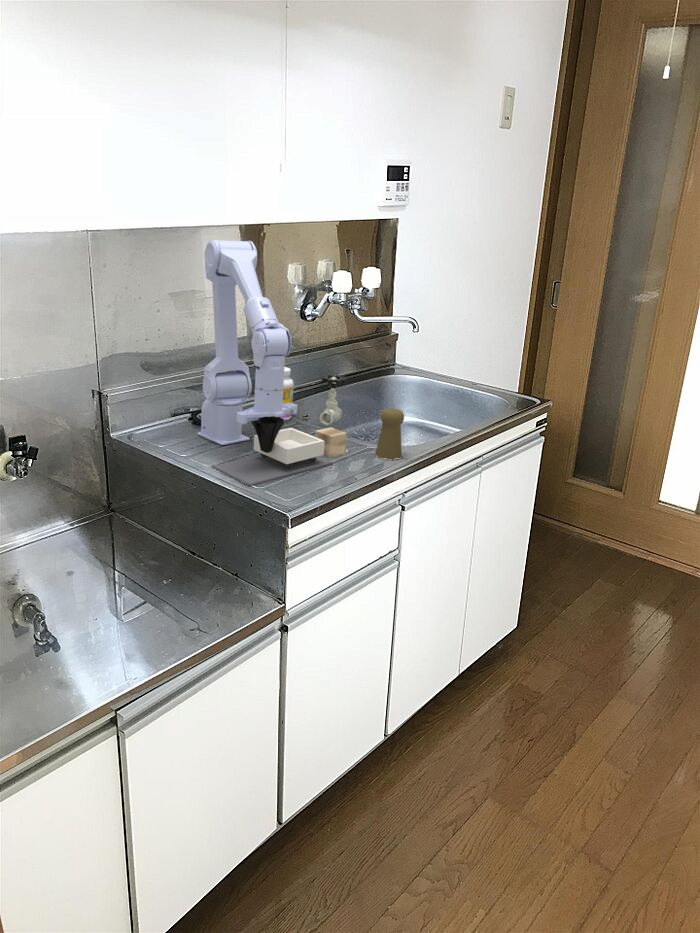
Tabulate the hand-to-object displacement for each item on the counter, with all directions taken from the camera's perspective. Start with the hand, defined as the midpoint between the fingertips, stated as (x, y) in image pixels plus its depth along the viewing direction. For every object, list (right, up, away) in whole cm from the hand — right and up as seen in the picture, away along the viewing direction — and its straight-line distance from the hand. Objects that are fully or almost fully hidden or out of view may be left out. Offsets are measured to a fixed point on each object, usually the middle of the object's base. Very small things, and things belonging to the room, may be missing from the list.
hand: (265, 451), depth 162 cm
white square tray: (+4, -2, +6) cm, 7 cm away
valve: (+12, +7, +36) cm, 39 cm away
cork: (+26, -1, +16) cm, 31 cm away
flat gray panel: (+1, -3, +3) cm, 5 cm away
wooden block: (+13, 0, +15) cm, 19 cm away
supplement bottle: (-1, +9, +36) cm, 38 cm away
